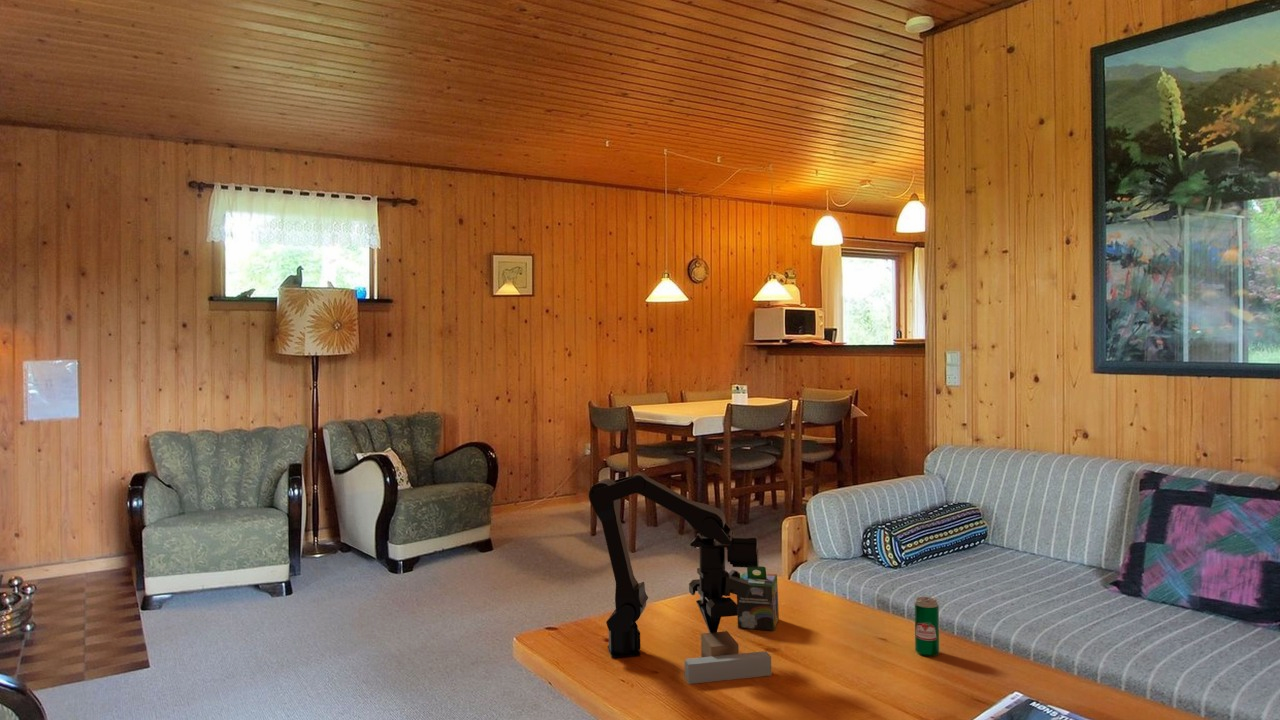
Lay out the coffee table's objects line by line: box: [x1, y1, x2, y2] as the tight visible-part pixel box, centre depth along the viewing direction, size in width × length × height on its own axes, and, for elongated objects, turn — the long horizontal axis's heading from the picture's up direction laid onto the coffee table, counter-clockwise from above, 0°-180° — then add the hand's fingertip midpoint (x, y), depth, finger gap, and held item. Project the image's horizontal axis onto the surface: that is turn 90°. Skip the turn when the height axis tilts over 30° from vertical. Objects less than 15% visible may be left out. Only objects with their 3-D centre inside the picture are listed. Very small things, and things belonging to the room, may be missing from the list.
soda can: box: [914, 596, 940, 657], centre depth 174 cm, size 5×5×12 cm
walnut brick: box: [700, 630, 740, 658], centre depth 169 cm, size 6×8×6 cm
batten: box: [684, 650, 772, 685], centre depth 164 cm, size 18×3×4 cm, turn 101°
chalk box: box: [736, 565, 780, 632], centre depth 195 cm, size 9×9×15 cm
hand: (713, 635), depth 174 cm, fingers closed
